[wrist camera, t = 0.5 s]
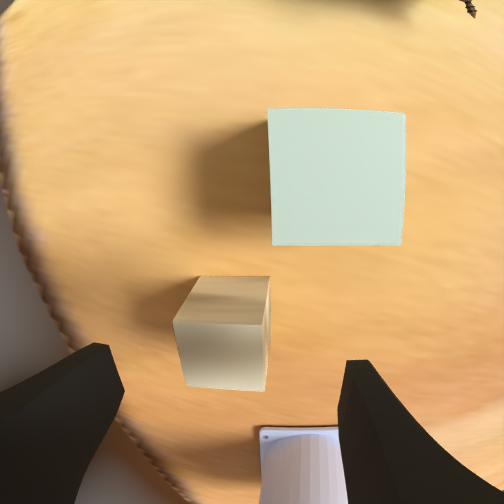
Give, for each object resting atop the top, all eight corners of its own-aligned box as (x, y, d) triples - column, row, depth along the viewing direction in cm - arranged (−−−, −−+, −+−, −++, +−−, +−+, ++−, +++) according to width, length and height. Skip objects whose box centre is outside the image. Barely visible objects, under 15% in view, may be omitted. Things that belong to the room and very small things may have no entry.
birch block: (271, 334, 19) (264, 391, 14) (208, 332, 19) (186, 385, 15) (269, 276, 18) (262, 325, 13) (200, 275, 18) (172, 321, 13)
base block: (370, 214, 16) (400, 245, 11) (277, 214, 16) (272, 245, 12) (371, 120, 14) (405, 113, 9) (274, 118, 15) (267, 108, 10)
